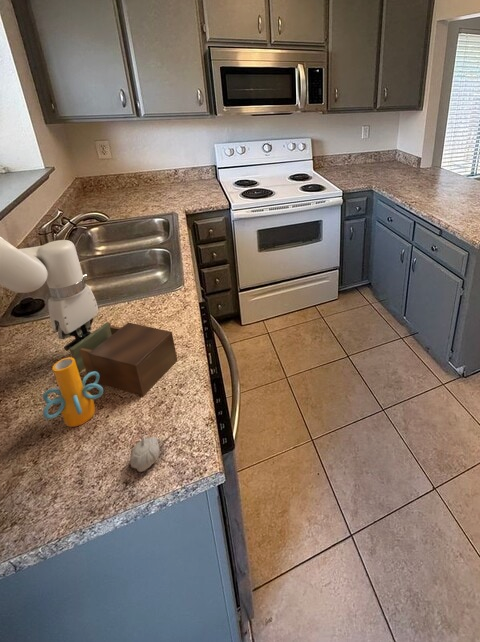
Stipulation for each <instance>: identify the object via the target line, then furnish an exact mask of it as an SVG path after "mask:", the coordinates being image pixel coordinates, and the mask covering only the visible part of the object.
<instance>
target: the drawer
mask: <svg viewBox="0 0 480 642" xmlns="http://www.w3.org/2000/svg"><path fill="white" fill-rule="evenodd" d="M121 328H122V327H120V326H115V325H112V323H111V322H109V321H106V322H105V323H103V324H102V325H101V326H99V327H98V328H96V329H95V330H93V331H92V332H91V330H90V331H89V332H90V335H88V336H87V337H85V338H84V339H83V340H81V341H80V342H79V343H76V339H75V338H74V339H73V340H71V341H70V342H69V343H68V344H66V345H64V346H63V350H64V351H67V352H68V351H69V352H70V355H71V357H72V358H74V359H75V362H76V365H77V368H78V371H79V374H80V373H81V372H83V371H84V370H85V372H86V373H90V372H93V368H92V365H91V361H90V358H89V354H88V353H89V352H91V351H92V350H93V349H95V348H96V347H97V346H99V345H100V344H101V343H102V342H104V341H105V340H106V339H108V338H109V337H110V336H111V335H113V334H114V333H115V332H117V331H118V330H119V329H121Z"/></svg>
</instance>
